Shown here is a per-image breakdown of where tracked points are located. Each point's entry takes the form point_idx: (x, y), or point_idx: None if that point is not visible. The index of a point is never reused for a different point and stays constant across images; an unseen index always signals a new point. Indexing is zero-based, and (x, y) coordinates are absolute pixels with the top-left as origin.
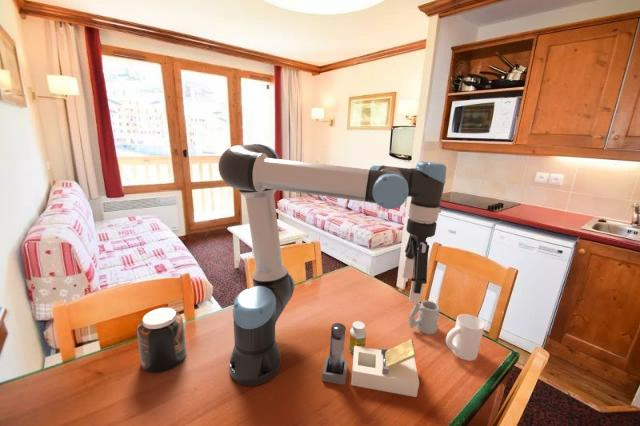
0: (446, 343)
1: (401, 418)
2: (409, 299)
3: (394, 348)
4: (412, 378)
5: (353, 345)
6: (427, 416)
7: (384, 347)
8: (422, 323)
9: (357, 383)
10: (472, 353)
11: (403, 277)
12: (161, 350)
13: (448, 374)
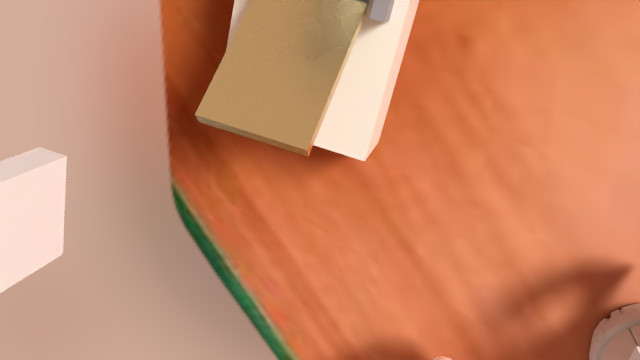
0: (442, 358)
1: (166, 8)
2: (23, 156)
3: (334, 50)
4: None
5: None
6: (178, 105)
7: (386, 6)
8: (636, 337)
9: None
10: None
11: (634, 358)
12: None
13: (343, 276)
